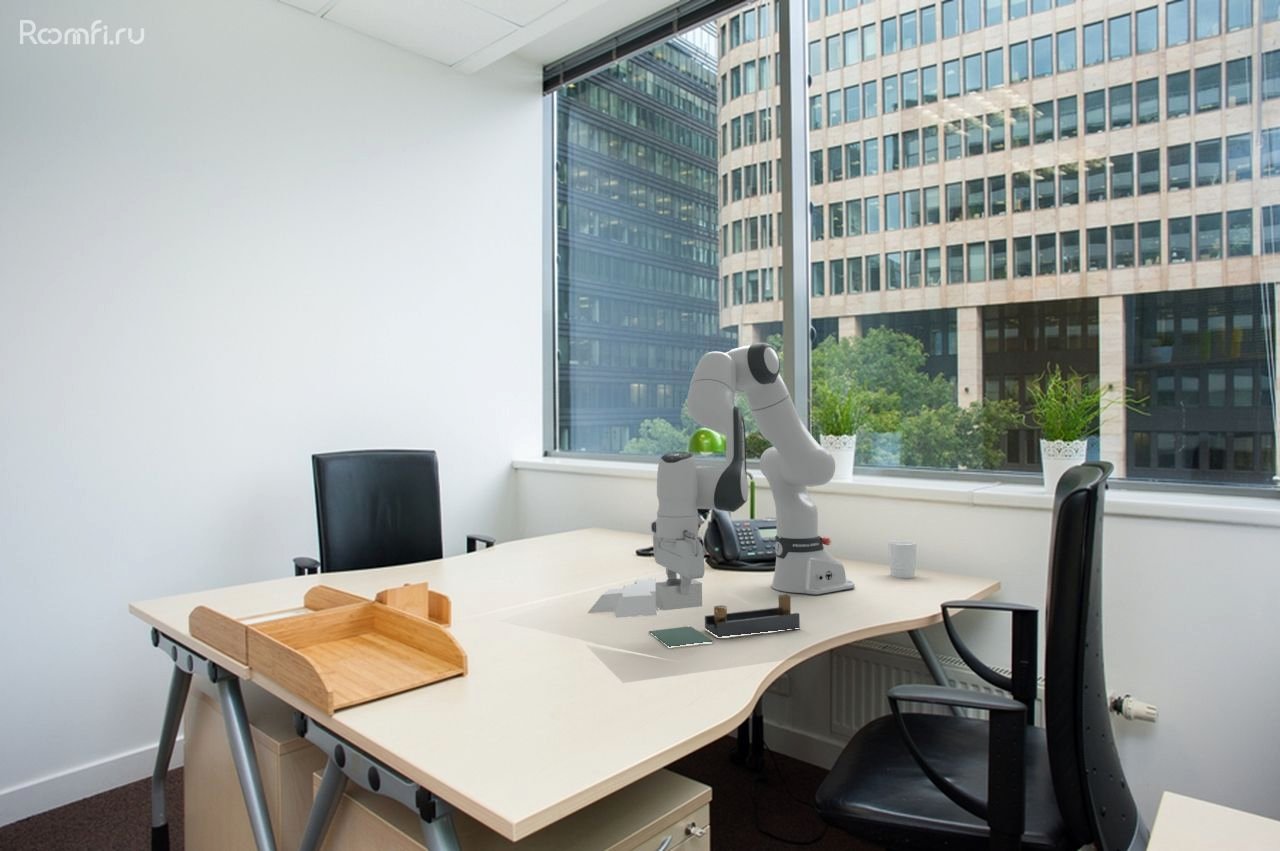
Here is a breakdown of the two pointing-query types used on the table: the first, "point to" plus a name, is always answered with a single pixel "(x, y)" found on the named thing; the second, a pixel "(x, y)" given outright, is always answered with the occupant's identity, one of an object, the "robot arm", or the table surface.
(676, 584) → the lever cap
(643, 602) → the white jagged cross block
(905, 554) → the white cup
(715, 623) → the dark grey channel holder
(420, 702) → the table surface
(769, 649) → the table surface
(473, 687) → the table surface
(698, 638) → the rubber mat
